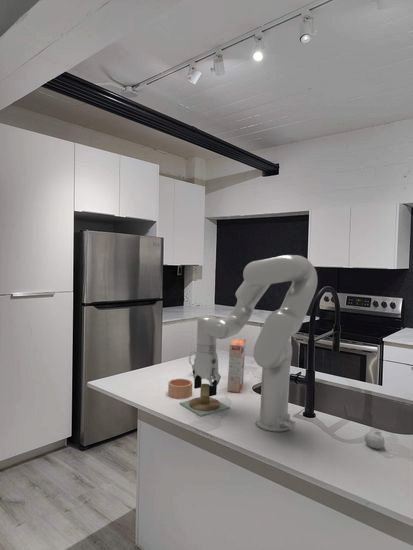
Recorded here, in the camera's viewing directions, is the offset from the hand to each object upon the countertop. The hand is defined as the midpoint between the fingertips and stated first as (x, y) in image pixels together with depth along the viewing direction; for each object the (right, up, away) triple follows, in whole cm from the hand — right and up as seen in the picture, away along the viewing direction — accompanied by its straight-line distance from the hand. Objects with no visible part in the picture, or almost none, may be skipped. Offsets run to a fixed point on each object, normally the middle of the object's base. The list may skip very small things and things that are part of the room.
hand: (205, 391), depth 149 cm
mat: (0, -6, 0) cm, 6 cm away
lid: (0, -5, 0) cm, 5 cm away
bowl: (-11, -5, +12) cm, 17 cm away
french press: (-3, -4, +38) cm, 39 cm away
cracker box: (+14, -5, +23) cm, 28 cm away
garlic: (+54, -9, -28) cm, 61 cm away
